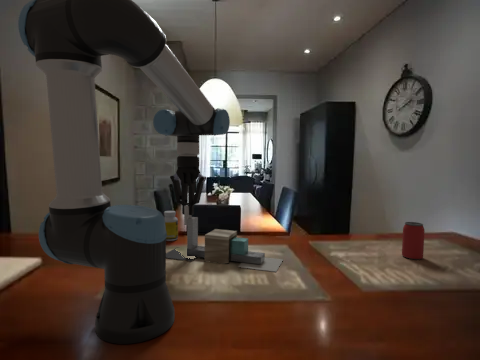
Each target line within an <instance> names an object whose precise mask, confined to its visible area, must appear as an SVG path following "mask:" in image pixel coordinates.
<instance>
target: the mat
mask: <svg viewBox="0 0 480 360" xmlns="http://www.w3.org/2000/svg"><path fill="white" fill-rule="evenodd" d="M282 261H283V262H284V259H282V258H276V257H275V258H274V257H273V258H272V257H266V256H265V260H264V261H263V262H262V264H254V263H245V262H240V264H239V265H238V266H237V268H239V267H241V269H247V268H248V270H254V269H255V270H257V271H262V272H263V271H264V272H271V273H277V272H278V270H279V268H280V267H281V265H282V263H283V262H282ZM279 266H280V267H279Z"/></svg>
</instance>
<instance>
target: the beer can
mask: <svg viewBox="0 0 480 360" xmlns="http://www.w3.org/2000/svg"><path fill="white" fill-rule="evenodd" d="M425 233H426V232H425V228H424V224H423V223H421V222H417V221H415V222H414V221H406V222H405V223H404V225H403V227H402V243H401V245H402V247H401V255H402V256H403V257H404V258H405V257H406V259H408V258H409V260H413V261H415V260H416V261H417V260H422V259H423V258H424V250H425V249H424V248H425V246H424V245H425Z"/></svg>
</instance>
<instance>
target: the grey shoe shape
mask: <svg viewBox="0 0 480 360" xmlns="http://www.w3.org/2000/svg"><path fill="white" fill-rule="evenodd" d="M176 248H179V247H175V248H173V249H172V250H170V251H168V252H167V251H166V259H167V258H168V259H167V260H175V259H177V261H183V260H187V261H186V262H193V261H194V260H193V259H190V258H189V259H188V258H185V257H184V256H183V255H182V256H183V257H184V258H183V257H182V256H181V253H180V252H178V251H176V250H175V249H176ZM179 253H180V254H179ZM192 260H193V261H192Z"/></svg>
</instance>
